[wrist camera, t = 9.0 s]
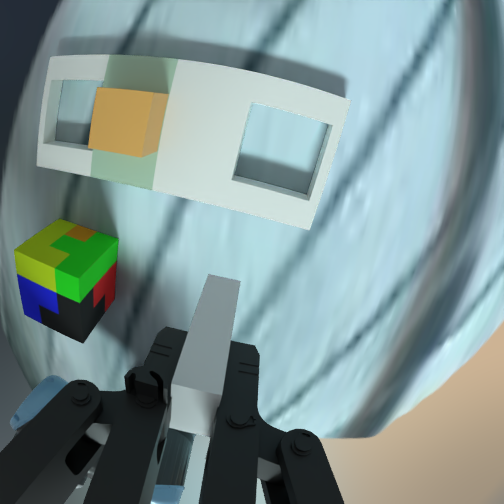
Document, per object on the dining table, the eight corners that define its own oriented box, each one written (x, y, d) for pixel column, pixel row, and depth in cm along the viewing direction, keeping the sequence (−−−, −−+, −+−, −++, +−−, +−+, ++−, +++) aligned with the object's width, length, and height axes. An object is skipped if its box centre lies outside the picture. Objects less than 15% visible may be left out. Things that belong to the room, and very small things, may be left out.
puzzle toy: (60, 276, 40) (24, 314, 31) (59, 218, 36) (14, 249, 27) (114, 298, 41) (83, 343, 32) (118, 238, 36) (78, 278, 27)
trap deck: (307, 221, 34) (309, 230, 31) (48, 161, 32) (36, 166, 30) (345, 101, 27) (351, 100, 25) (62, 57, 26) (50, 56, 23)
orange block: (157, 151, 29) (141, 157, 25) (107, 142, 28) (88, 148, 25) (168, 94, 26) (153, 92, 22) (117, 88, 26) (97, 87, 22)
